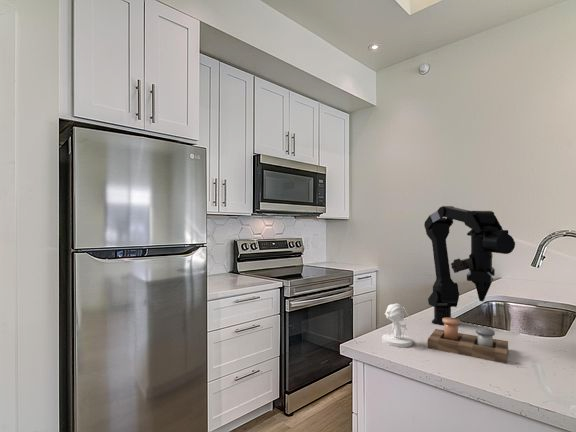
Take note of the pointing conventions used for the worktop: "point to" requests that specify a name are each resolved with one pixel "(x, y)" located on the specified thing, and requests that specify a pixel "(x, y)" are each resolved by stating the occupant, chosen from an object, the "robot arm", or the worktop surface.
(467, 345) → the socket board
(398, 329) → the figurine
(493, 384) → the worktop surface
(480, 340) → the plug grey
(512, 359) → the worktop surface
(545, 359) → the worktop surface
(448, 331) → the plug terracotta
